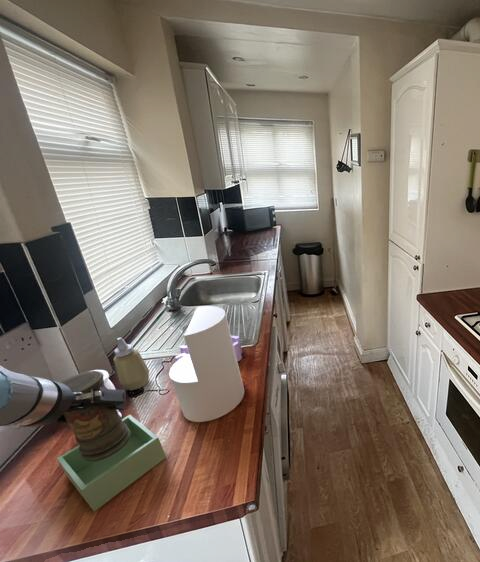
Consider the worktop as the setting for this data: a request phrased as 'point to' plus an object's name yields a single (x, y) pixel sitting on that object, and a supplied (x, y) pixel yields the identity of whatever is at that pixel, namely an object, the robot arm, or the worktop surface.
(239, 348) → the clip
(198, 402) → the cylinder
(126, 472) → the tub
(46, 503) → the worktop surface
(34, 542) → the worktop surface
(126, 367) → the squeeze bottle
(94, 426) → the container
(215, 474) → the worktop surface
